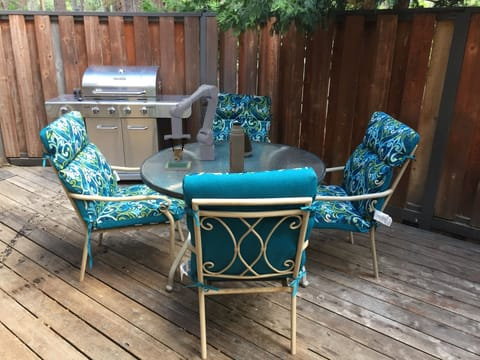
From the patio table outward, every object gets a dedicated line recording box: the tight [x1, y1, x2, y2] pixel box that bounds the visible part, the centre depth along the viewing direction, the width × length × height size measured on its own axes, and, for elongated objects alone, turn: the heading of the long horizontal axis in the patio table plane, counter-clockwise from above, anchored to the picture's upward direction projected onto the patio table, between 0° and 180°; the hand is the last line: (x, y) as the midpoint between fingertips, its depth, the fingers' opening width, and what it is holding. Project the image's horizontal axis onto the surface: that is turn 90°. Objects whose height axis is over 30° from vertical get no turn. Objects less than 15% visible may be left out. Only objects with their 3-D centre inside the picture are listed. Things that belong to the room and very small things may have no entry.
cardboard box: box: [173, 148, 184, 161], centre depth 237 cm, size 4×6×5 cm
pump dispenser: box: [243, 131, 253, 158], centre depth 254 cm, size 10×10×15 cm
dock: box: [164, 158, 192, 171], centre depth 235 cm, size 14×12×4 cm
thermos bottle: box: [229, 121, 245, 174], centre depth 221 cm, size 8×8×28 cm
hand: (178, 150), depth 236 cm, fingers closed on cardboard box, 4 cm apart
